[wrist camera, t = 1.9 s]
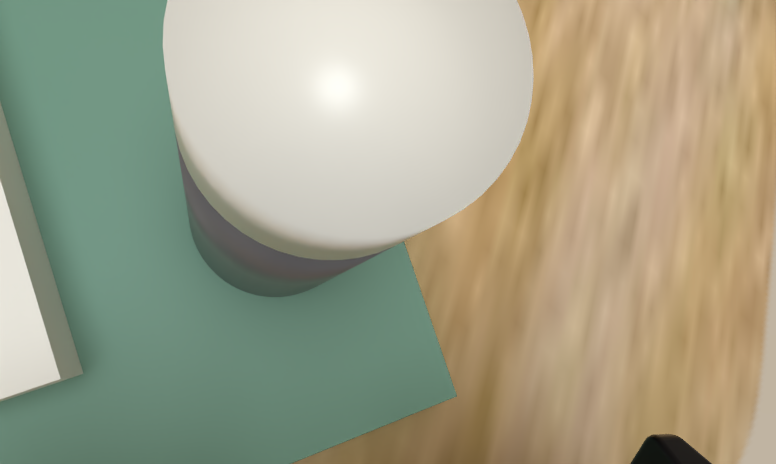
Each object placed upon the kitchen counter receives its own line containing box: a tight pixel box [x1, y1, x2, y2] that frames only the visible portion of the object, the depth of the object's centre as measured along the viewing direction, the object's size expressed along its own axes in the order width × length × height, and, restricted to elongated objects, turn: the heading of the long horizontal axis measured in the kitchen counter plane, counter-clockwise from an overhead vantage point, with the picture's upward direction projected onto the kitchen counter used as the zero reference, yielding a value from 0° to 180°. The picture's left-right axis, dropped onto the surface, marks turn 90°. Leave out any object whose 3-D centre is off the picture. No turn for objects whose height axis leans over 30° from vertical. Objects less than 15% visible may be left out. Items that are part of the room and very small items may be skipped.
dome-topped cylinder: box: [163, 0, 533, 297], centre depth 15 cm, size 5×5×12 cm
